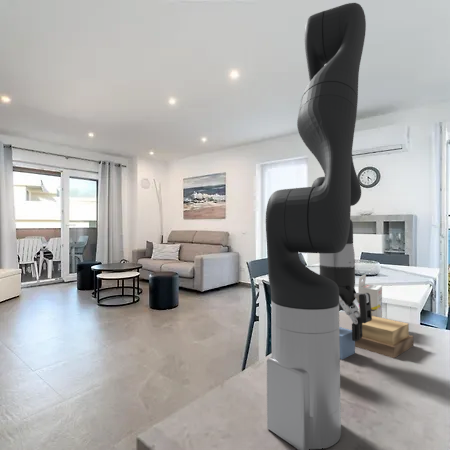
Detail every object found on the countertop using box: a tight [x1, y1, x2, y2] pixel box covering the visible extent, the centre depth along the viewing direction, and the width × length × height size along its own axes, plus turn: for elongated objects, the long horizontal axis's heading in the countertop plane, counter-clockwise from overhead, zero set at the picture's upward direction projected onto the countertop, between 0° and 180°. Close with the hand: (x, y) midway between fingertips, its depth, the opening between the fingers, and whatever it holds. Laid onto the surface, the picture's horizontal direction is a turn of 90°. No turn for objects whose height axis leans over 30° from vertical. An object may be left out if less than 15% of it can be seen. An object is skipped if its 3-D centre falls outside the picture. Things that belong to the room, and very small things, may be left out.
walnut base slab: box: [355, 334, 414, 359], centre depth 71 cm, size 11×11×3 cm
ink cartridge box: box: [357, 273, 383, 318], centre depth 83 cm, size 9×5×15 cm, turn 144°
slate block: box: [339, 326, 356, 360], centre depth 66 cm, size 6×6×5 cm
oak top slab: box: [362, 316, 410, 345], centre depth 71 cm, size 9×9×3 cm
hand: (338, 334), depth 67 cm, fingers open, 8 cm apart
